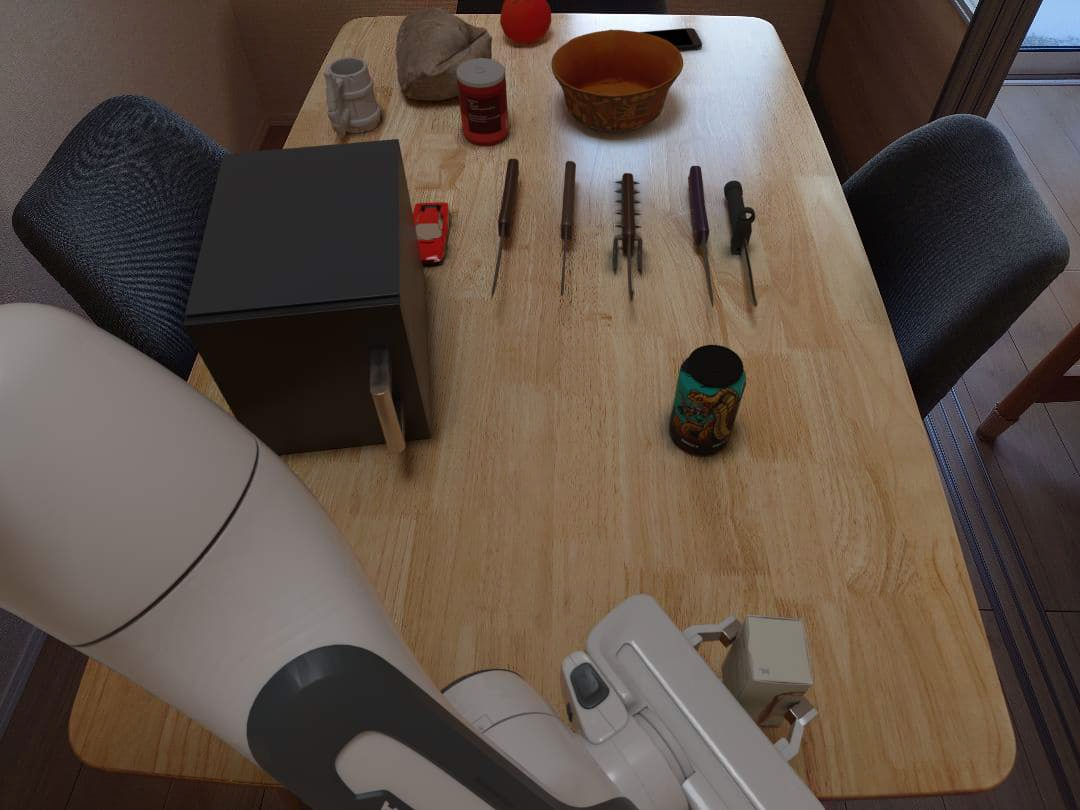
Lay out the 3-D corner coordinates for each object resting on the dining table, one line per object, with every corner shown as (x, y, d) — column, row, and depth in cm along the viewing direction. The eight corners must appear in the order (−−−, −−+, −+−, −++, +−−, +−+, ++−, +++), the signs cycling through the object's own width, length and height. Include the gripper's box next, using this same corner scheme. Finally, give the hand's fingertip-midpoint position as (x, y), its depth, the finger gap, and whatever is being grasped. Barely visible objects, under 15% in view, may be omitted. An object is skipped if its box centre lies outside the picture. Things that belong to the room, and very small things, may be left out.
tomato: (560, 33, 147) (560, -12, 141) (531, 56, 142) (529, 10, 135) (520, 22, 150) (518, -23, 144) (490, 44, 145) (487, -2, 139)
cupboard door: (432, 480, 85) (400, 350, 67) (251, 501, 83) (171, 373, 66) (430, 431, 89) (399, 296, 72) (258, 449, 88) (184, 317, 71)
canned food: (489, 115, 130) (484, 52, 121) (518, 135, 126) (515, 71, 118) (453, 132, 127) (445, 68, 118) (482, 152, 123) (476, 89, 115)
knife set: (486, 328, 97) (483, 281, 91) (509, 183, 119) (508, 138, 113) (761, 341, 96) (776, 295, 90) (734, 192, 117) (744, 147, 111)
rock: (514, 27, 132) (445, -27, 122) (492, 114, 130) (420, 67, 120) (462, 53, 144) (396, 7, 134) (441, 134, 142) (372, 92, 132)
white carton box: (780, 729, 60) (814, 689, 53) (724, 725, 61) (750, 684, 53) (773, 665, 64) (805, 617, 56) (720, 660, 64) (744, 613, 56)
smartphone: (617, 36, 146) (617, 32, 145) (693, 30, 147) (694, 26, 146) (624, 56, 141) (624, 51, 140) (703, 49, 142) (703, 45, 141)
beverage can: (693, 467, 85) (709, 401, 76) (656, 424, 89) (667, 356, 79) (742, 440, 87) (764, 372, 78) (704, 399, 91) (720, 330, 81)
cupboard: (430, 430, 89) (399, 293, 72) (258, 448, 88) (184, 314, 71) (425, 280, 105) (398, 138, 88) (279, 294, 104) (223, 153, 86)
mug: (389, 112, 131) (376, 44, 122) (360, 151, 124) (343, 81, 115) (349, 106, 133) (333, 38, 123) (318, 144, 126) (298, 75, 116)
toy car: (446, 266, 106) (443, 249, 104) (409, 268, 107) (405, 250, 104) (450, 213, 114) (448, 195, 111) (416, 214, 114) (413, 196, 111)
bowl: (526, 122, 129) (524, 65, 121) (602, 70, 138) (604, 15, 130) (626, 167, 120) (631, 109, 112) (699, 109, 130) (708, 52, 122)
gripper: (741, 916, 46) (895, 776, 50) (550, 641, 56) (691, 547, 61) (723, 924, 51) (865, 796, 55) (550, 670, 61) (681, 581, 66)
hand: (772, 663), depth 58 cm, fingers closed on white carton box, 6 cm apart
